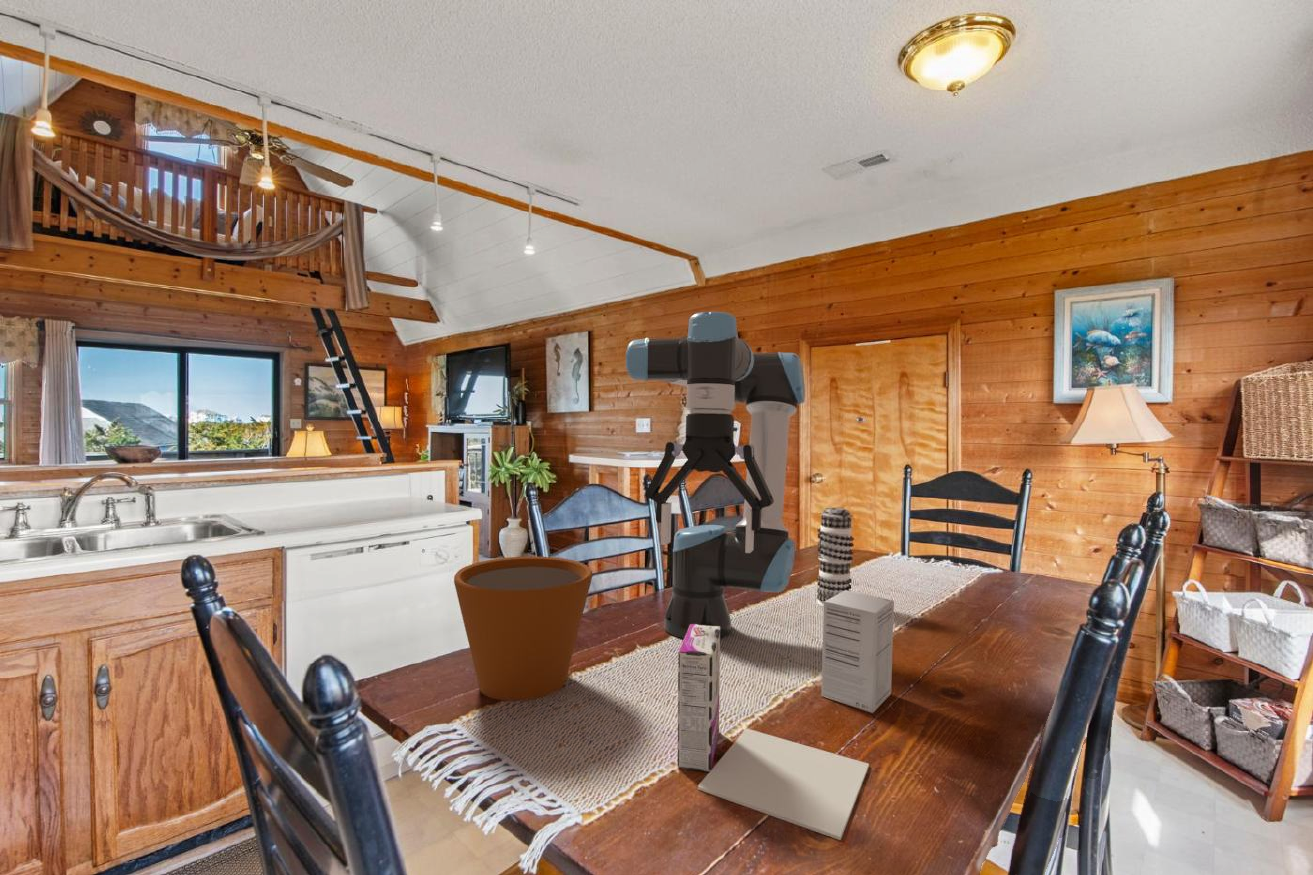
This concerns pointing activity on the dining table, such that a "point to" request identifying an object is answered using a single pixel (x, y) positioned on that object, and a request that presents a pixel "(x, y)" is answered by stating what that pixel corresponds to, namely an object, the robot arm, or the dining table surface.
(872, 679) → the supplement box
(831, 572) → the decorative candle
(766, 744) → the mat
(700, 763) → the candy bar box
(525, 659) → the flower pot
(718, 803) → the dining table surface
